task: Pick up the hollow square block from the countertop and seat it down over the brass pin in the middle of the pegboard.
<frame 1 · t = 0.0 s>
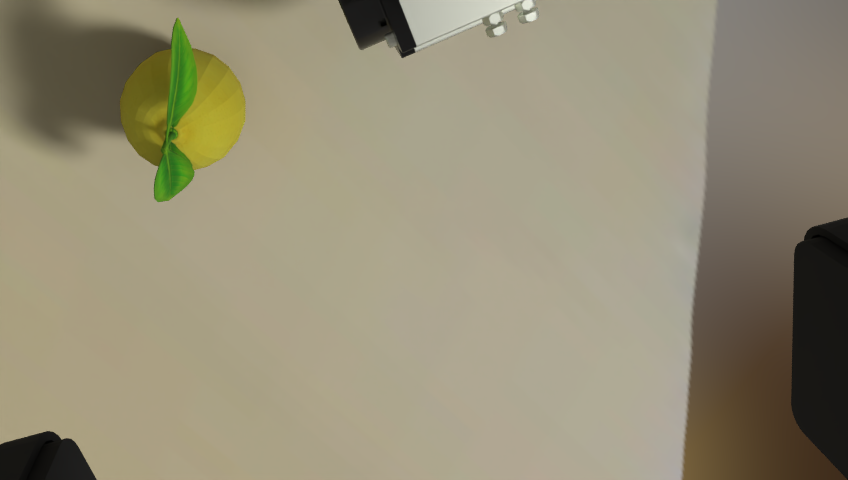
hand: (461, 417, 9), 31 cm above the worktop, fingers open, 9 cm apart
lemon: (194, 86, 38), on the worktop
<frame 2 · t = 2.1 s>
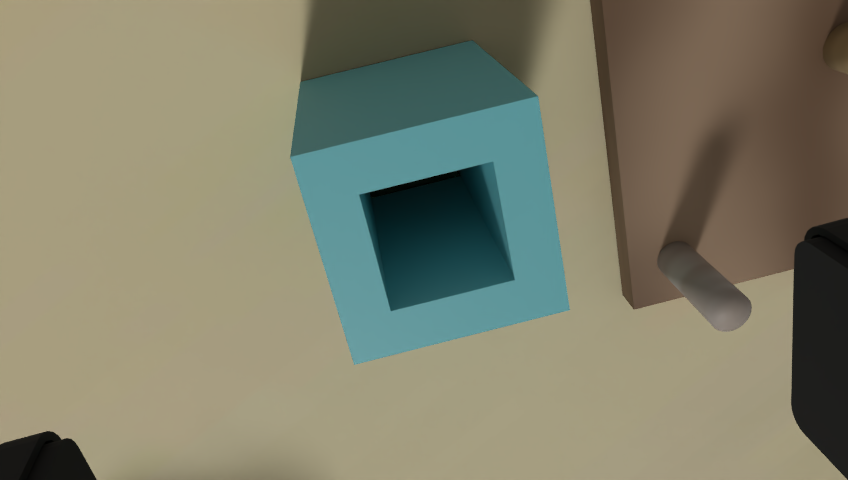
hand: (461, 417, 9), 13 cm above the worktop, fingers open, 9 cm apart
hollow square block: (406, 143, 22), on the worktop
pegboard: (824, 41, 22), on the worktop
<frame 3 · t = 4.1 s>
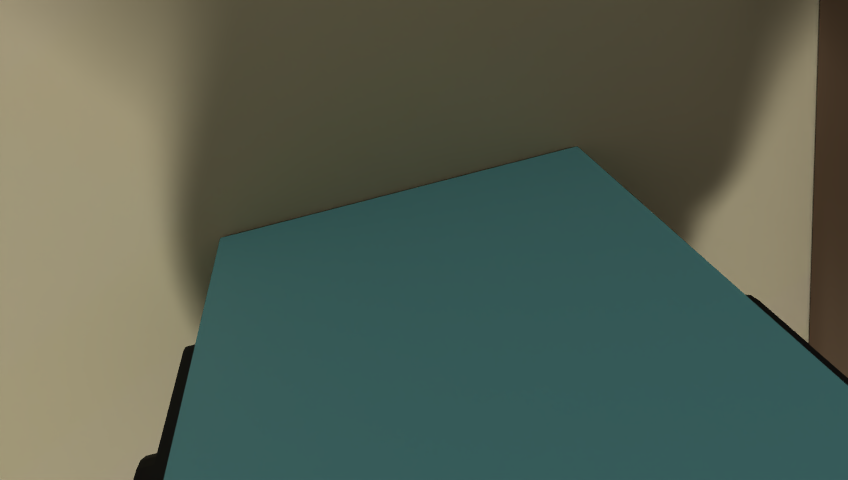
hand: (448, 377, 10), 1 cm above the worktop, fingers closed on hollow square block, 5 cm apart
hollow square block: (437, 341, 11), on the worktop, touching gripper
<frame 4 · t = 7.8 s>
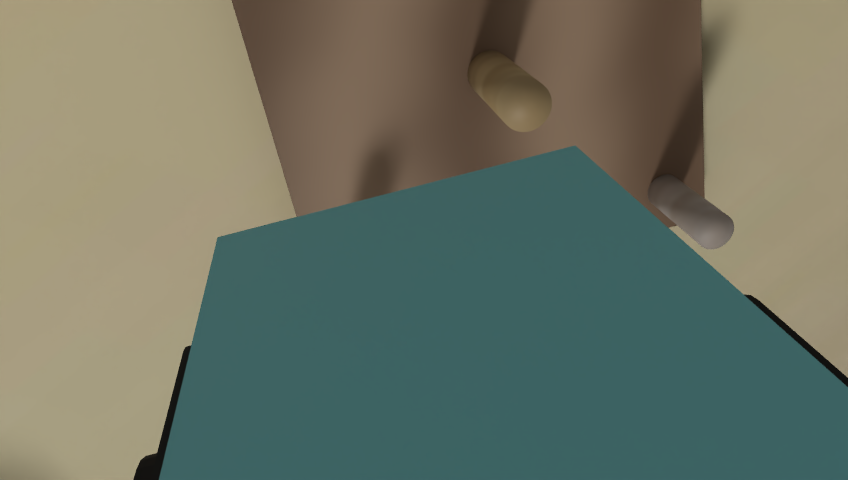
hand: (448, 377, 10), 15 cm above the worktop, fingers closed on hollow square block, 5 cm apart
hollow square block: (435, 340, 11), point 14 cm above the worktop, touching gripper
pegboard: (481, 66, 24), on the worktop
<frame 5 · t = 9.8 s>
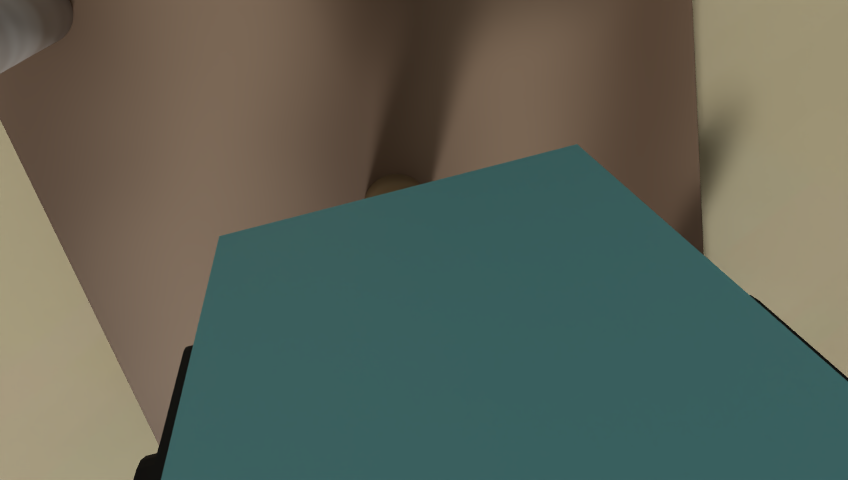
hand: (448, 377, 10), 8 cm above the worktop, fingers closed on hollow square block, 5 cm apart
hollow square block: (436, 339, 11), point 7 cm above the worktop, touching gripper
pegboard: (390, 188, 17), on the worktop
when the fingers open (3 cm above the worktop, at t = 11.8 s): hollow square block drops 1 cm, resting on pegboard.
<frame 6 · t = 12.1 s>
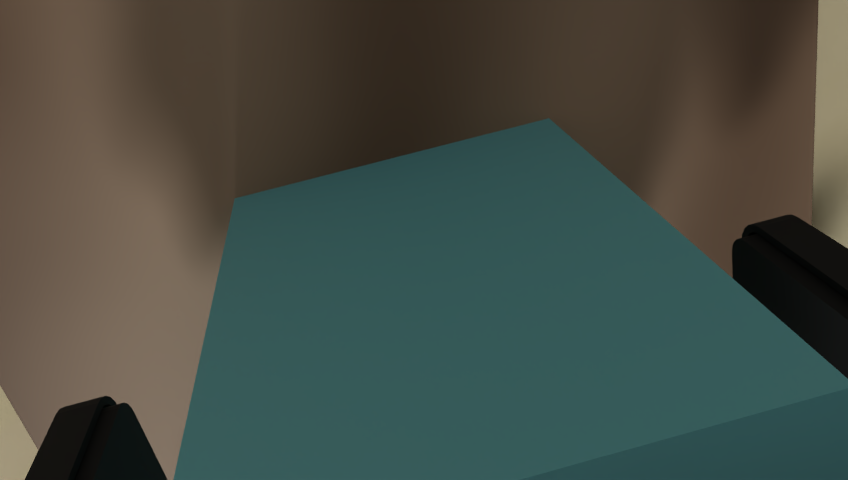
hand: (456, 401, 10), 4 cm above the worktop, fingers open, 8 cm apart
hollow square block: (426, 294, 12), point 1 cm above the worktop, touching pegboard
pegboard: (414, 267, 13), on the worktop
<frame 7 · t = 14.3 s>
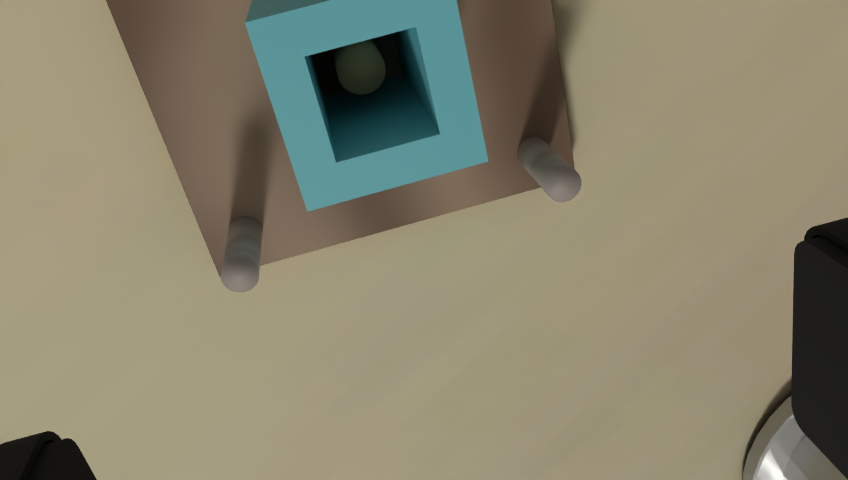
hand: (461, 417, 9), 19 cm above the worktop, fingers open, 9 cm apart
hollow square block: (353, 44, 25), point 1 cm above the worktop, touching pegboard
pegboard: (348, 39, 25), on the worktop
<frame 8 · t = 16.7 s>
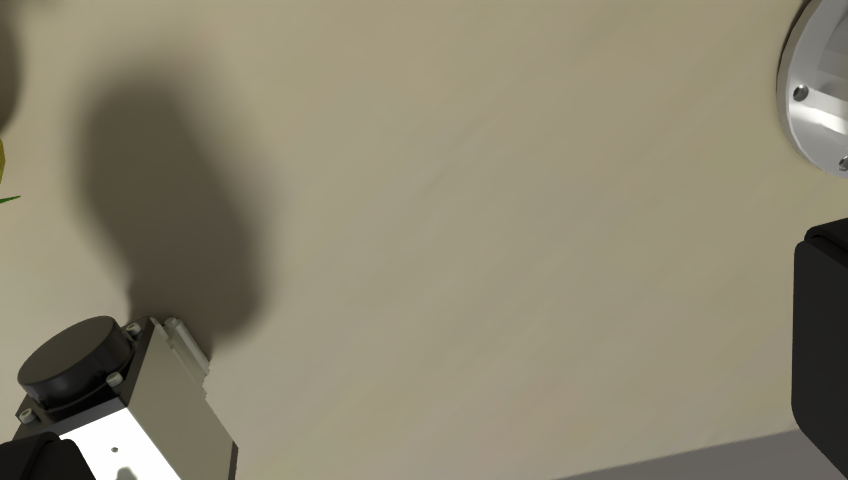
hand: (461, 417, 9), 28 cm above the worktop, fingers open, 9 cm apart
pneumatic valve: (161, 351, 40), on the worktop
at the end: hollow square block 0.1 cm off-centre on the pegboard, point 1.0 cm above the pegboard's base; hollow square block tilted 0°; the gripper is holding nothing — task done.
